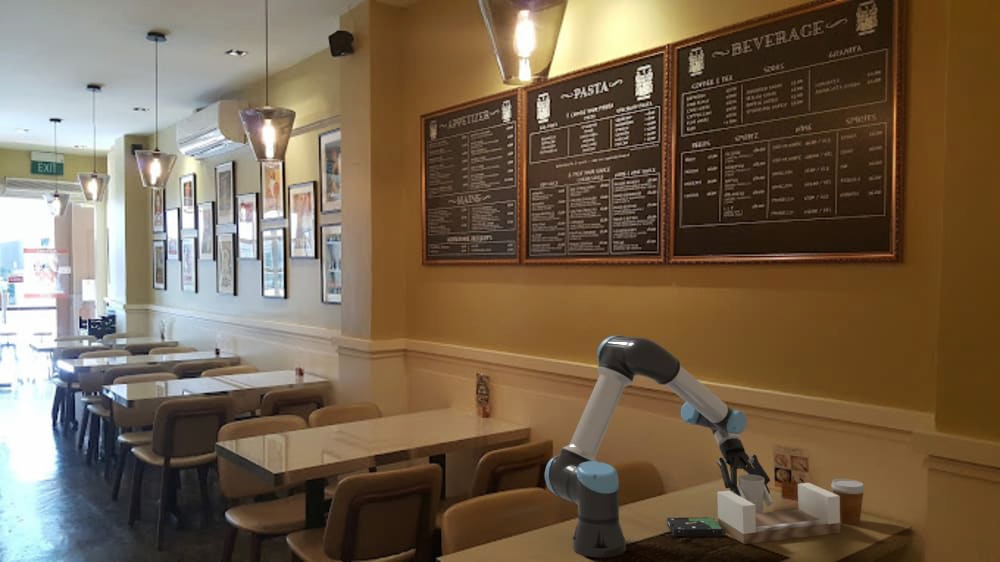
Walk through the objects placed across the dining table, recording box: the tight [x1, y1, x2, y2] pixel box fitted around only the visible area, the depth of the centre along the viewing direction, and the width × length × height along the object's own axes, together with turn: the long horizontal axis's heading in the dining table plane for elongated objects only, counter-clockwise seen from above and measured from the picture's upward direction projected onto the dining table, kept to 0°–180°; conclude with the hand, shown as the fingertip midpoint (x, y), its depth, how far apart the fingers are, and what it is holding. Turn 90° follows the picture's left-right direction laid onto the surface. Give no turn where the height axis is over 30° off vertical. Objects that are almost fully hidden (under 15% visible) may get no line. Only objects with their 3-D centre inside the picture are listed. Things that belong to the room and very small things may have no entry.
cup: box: [737, 473, 765, 514], centre depth 225 cm, size 8×8×12 cm
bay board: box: [717, 508, 841, 545], centre depth 211 cm, size 32×14×4 cm, turn 103°
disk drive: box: [666, 517, 724, 537], centre depth 213 cm, size 10×3×15 cm
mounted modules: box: [716, 482, 841, 534], centre depth 211 cm, size 32×14×8 cm, turn 103°
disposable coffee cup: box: [830, 478, 866, 526], centre depth 217 cm, size 10×10×12 cm
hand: (757, 505), depth 222 cm, fingers closed on cup, 8 cm apart
